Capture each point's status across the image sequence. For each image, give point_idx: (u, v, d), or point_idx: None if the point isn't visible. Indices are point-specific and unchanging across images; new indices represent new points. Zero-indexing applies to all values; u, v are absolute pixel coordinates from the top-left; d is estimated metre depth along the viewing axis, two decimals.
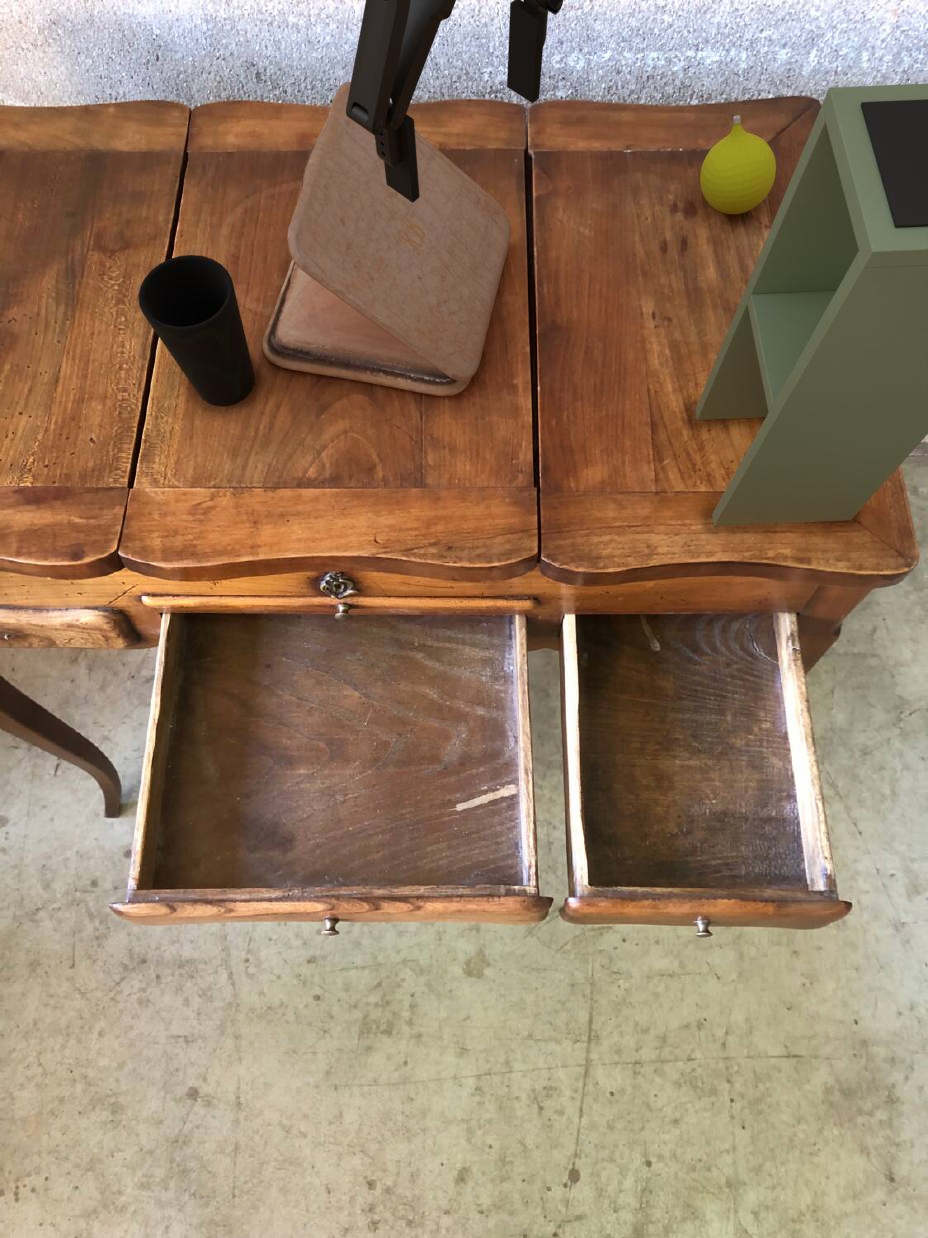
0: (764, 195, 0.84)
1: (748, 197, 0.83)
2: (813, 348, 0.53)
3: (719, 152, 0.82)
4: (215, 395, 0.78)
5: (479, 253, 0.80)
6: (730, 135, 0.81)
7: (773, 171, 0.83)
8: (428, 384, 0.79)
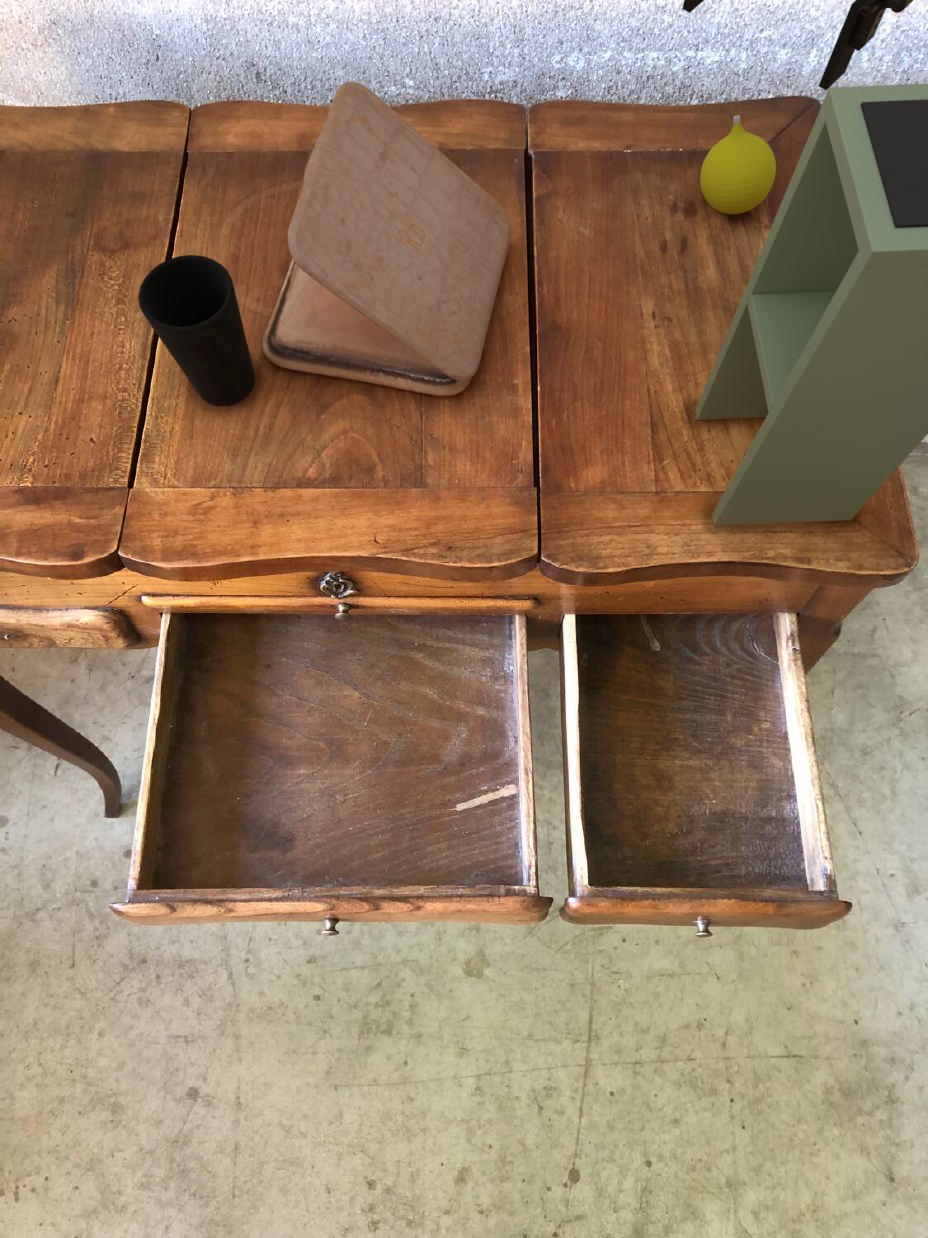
0: (764, 195, 0.84)
1: (748, 197, 0.83)
2: (813, 348, 0.53)
3: (719, 152, 0.82)
4: (215, 395, 0.78)
5: (479, 253, 0.80)
6: (730, 135, 0.81)
7: (773, 171, 0.83)
8: (428, 384, 0.79)
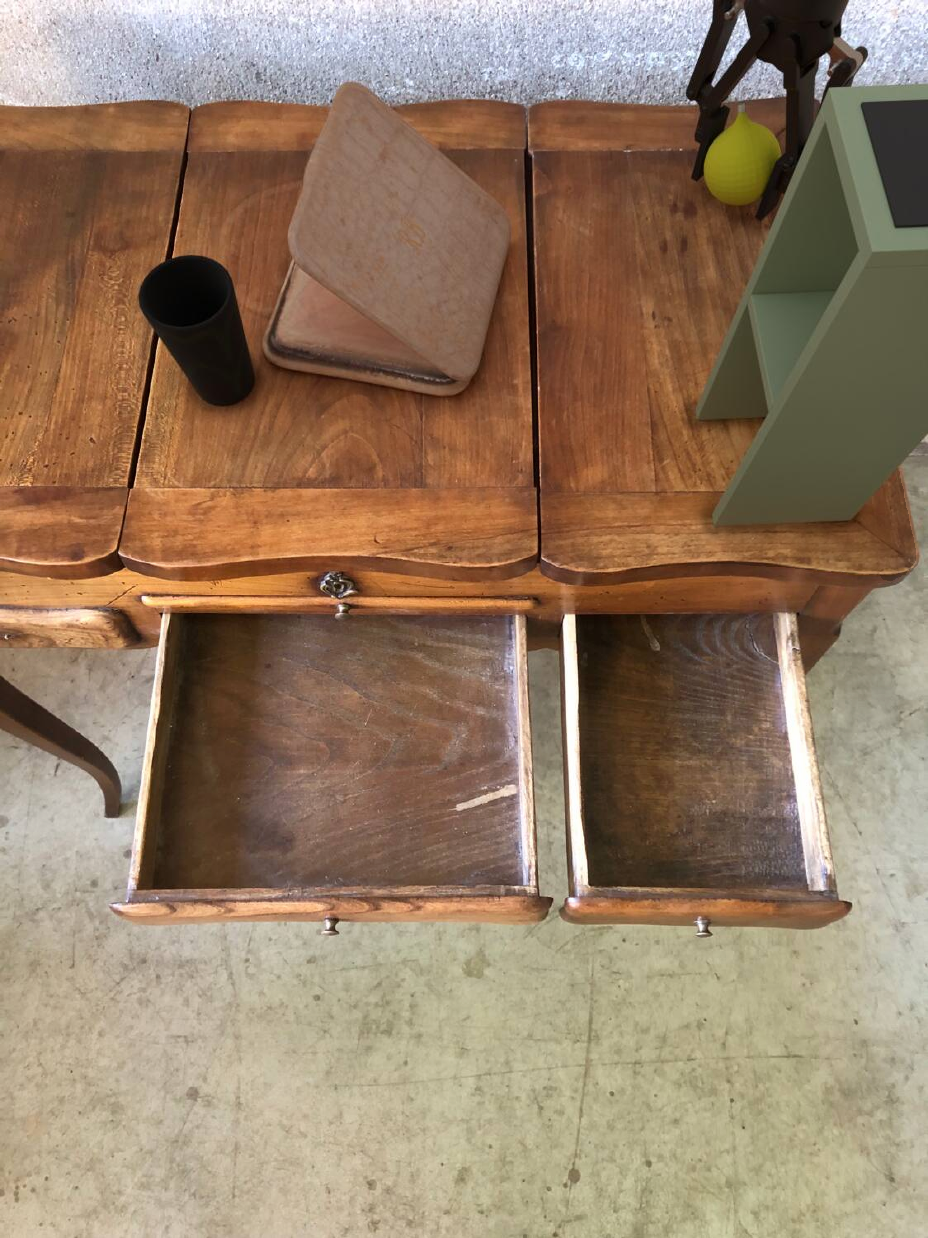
0: None
1: (752, 187, 0.81)
2: (813, 348, 0.53)
3: (724, 141, 0.81)
4: (215, 395, 0.78)
5: (479, 253, 0.80)
6: (735, 124, 0.80)
7: None
8: (428, 384, 0.79)
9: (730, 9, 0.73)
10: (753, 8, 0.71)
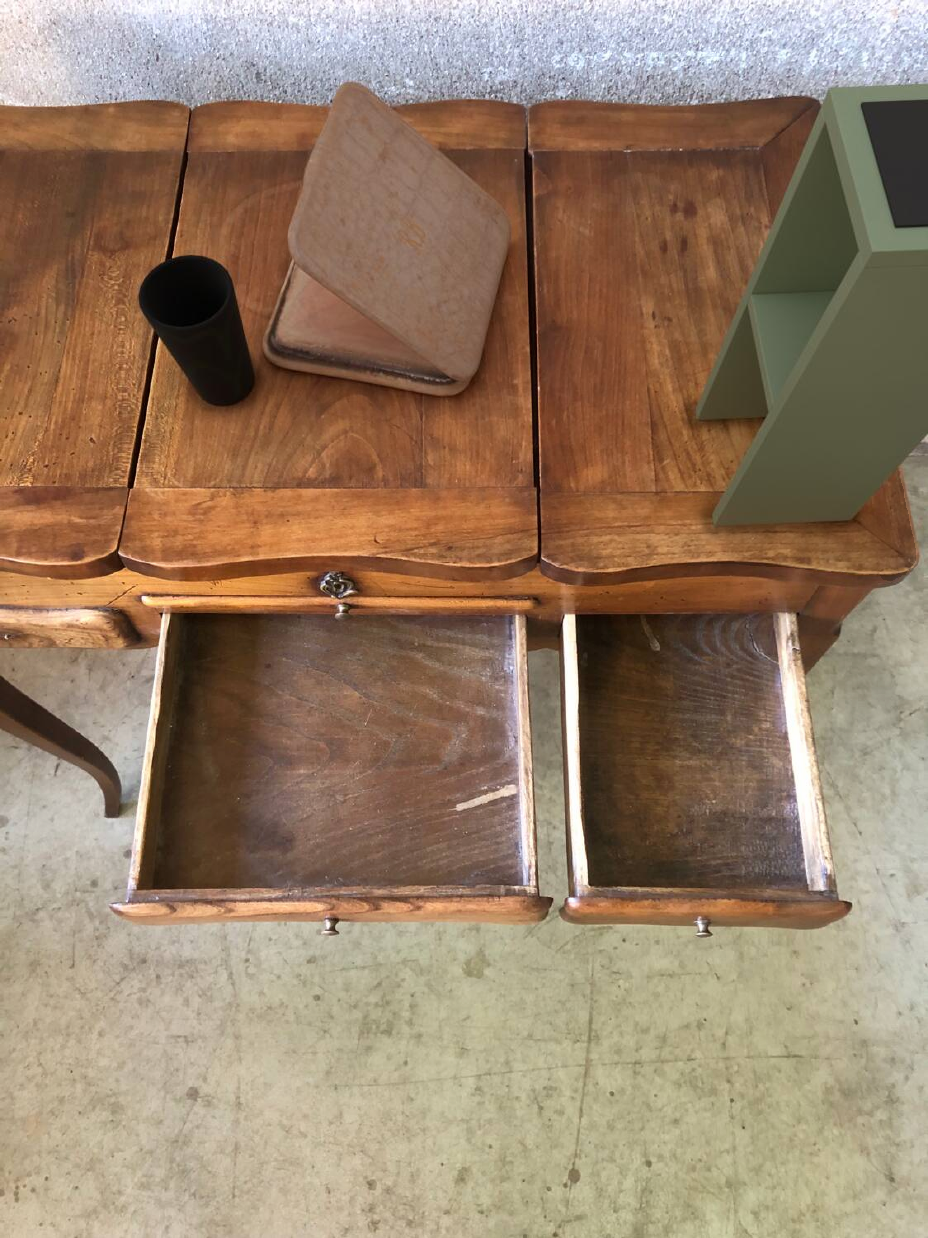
0: None
1: None
2: (813, 348, 0.53)
3: None
4: (215, 395, 0.78)
5: (479, 253, 0.80)
6: None
7: None
8: (428, 384, 0.79)
9: None
10: None
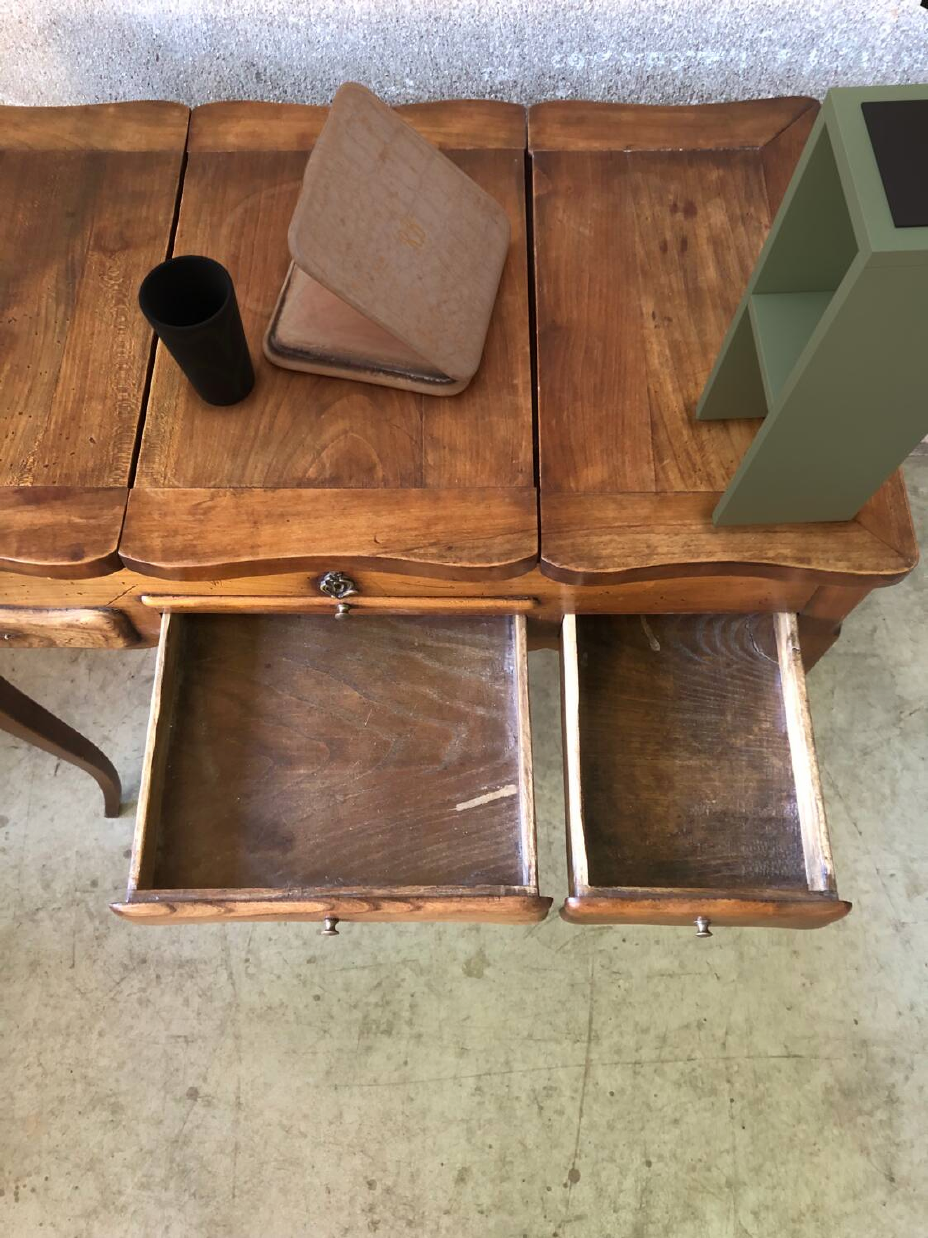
0: None
1: None
2: (813, 348, 0.53)
3: None
4: (215, 395, 0.78)
5: (479, 253, 0.80)
6: None
7: None
8: (428, 384, 0.79)
9: None
10: None
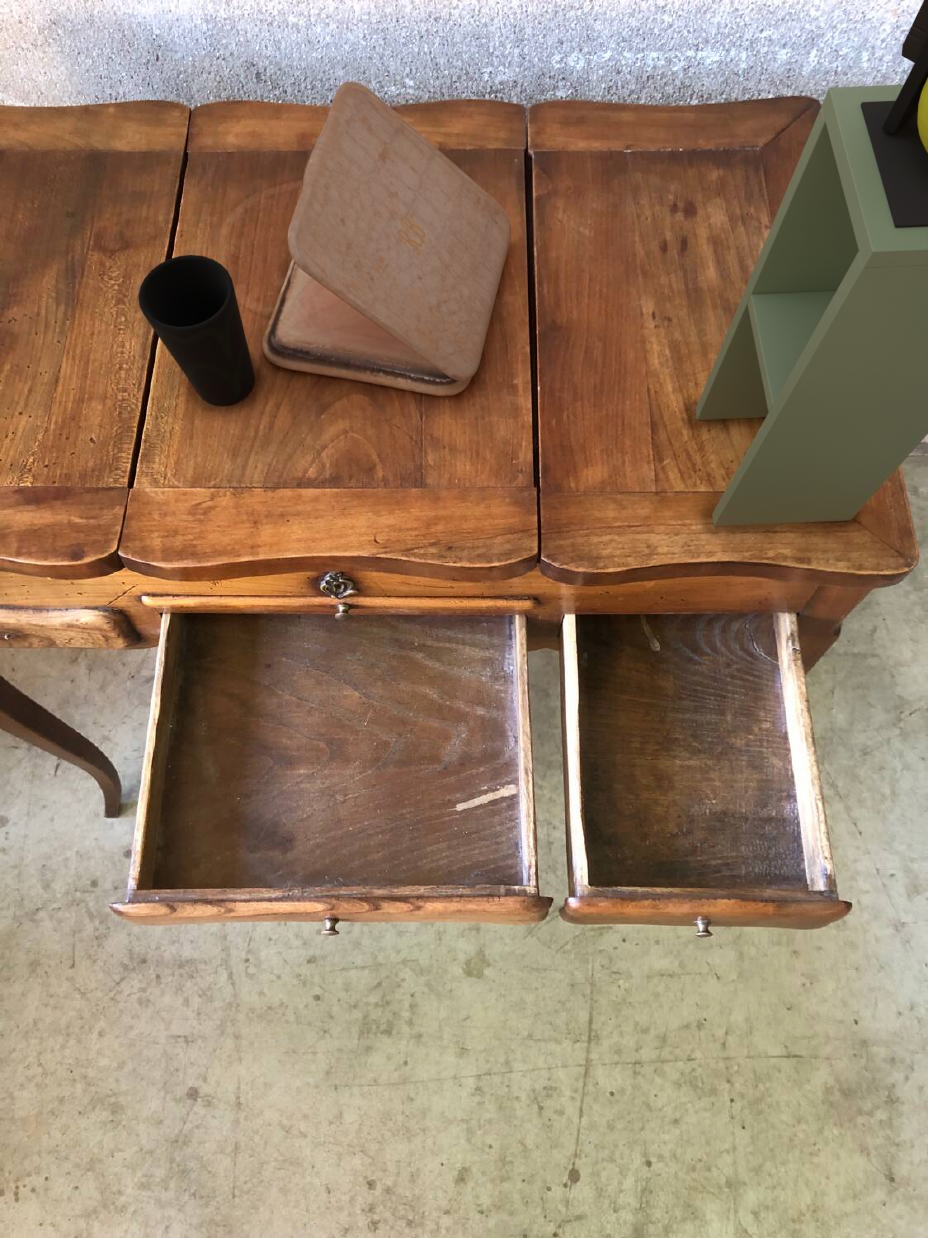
0: None
1: None
2: (813, 348, 0.53)
3: None
4: (215, 395, 0.78)
5: (479, 253, 0.80)
6: None
7: None
8: (428, 384, 0.79)
9: None
10: None
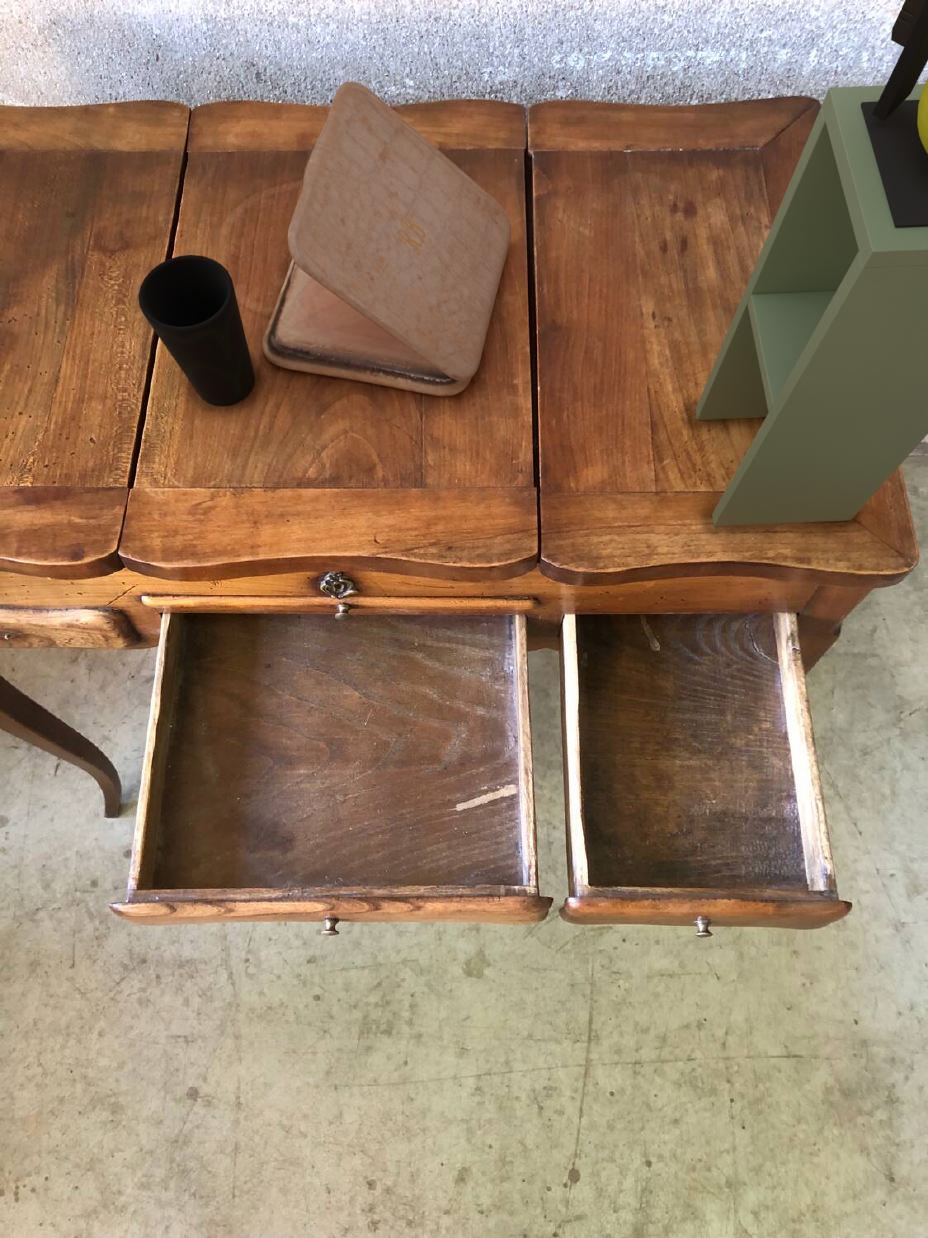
0: None
1: None
2: (813, 348, 0.53)
3: None
4: (215, 395, 0.78)
5: (479, 253, 0.80)
6: None
7: None
8: (428, 384, 0.79)
9: None
10: None
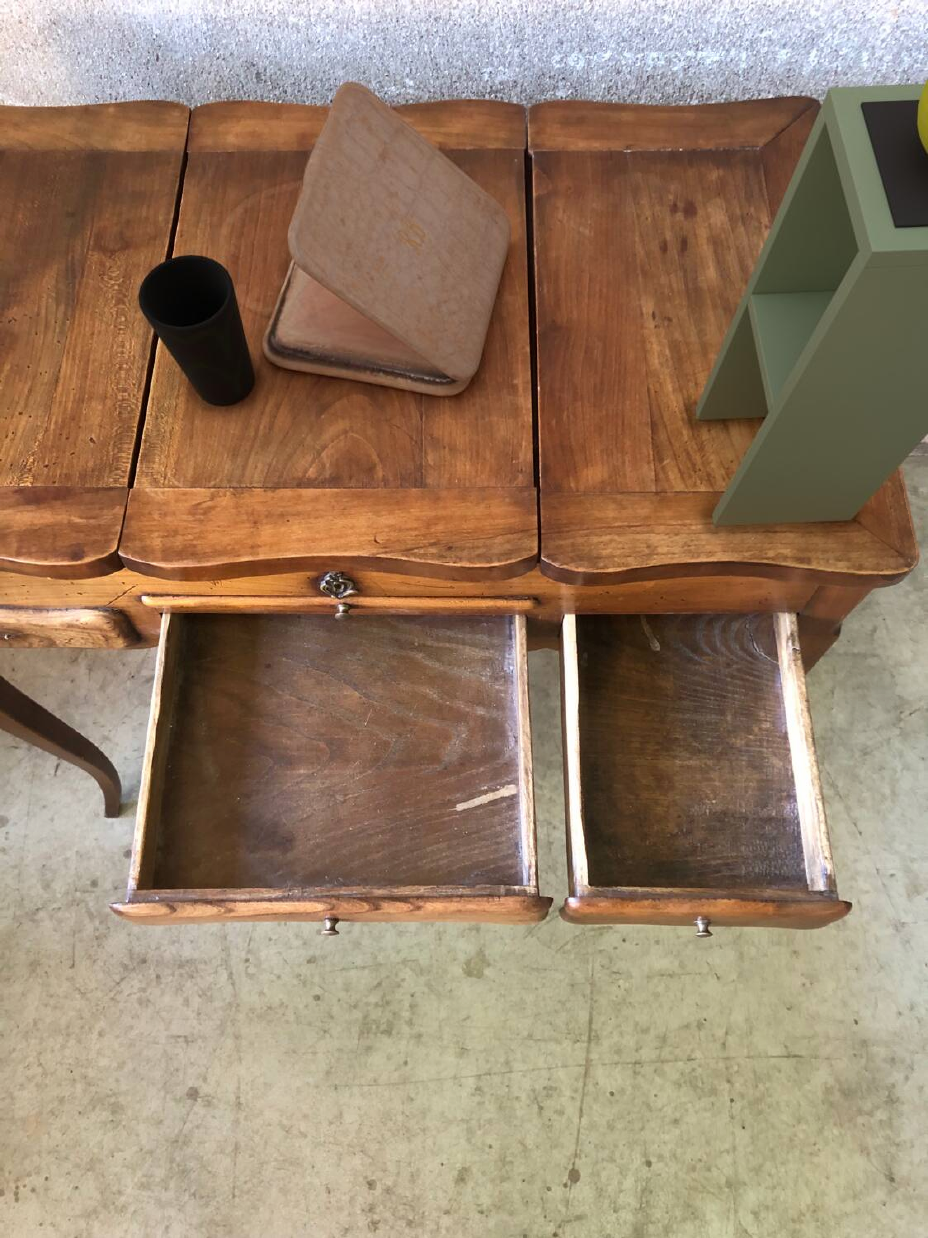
0: None
1: None
2: (813, 348, 0.53)
3: None
4: (215, 395, 0.78)
5: (479, 253, 0.80)
6: None
7: None
8: (428, 384, 0.79)
9: None
10: None
